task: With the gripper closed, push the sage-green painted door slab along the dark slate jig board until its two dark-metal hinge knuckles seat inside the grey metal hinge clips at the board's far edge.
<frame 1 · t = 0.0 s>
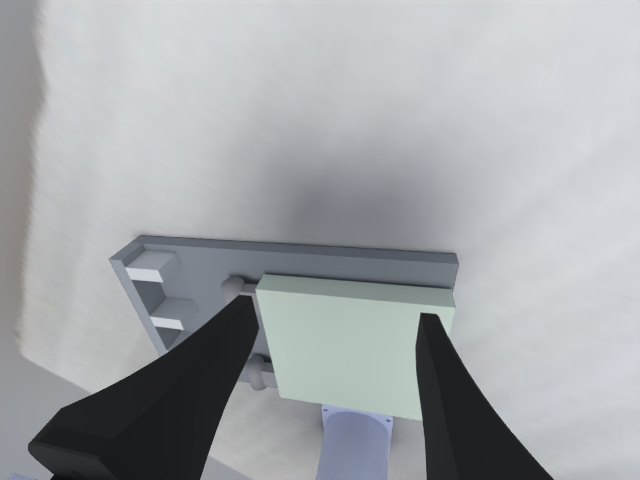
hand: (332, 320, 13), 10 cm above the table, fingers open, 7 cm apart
jig board: (293, 323, 29), on the table
door: (332, 350, 26), point 2 cm above the table, slide at 7.0 cm
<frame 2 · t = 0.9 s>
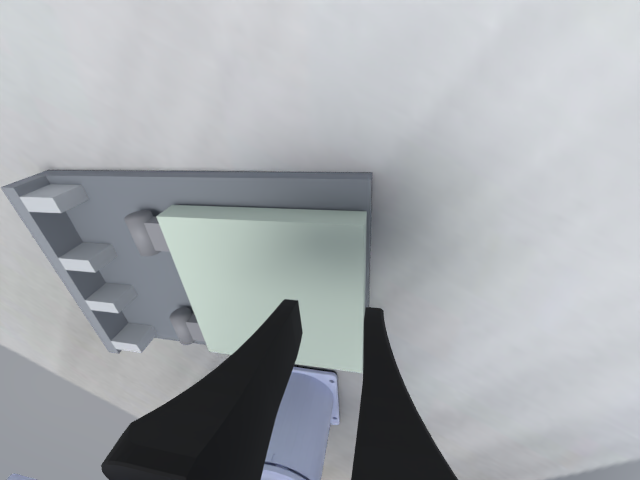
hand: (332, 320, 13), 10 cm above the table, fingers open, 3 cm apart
jig board: (219, 270, 27), on the table
door: (253, 292, 24), point 2 cm above the table, slide at 7.0 cm
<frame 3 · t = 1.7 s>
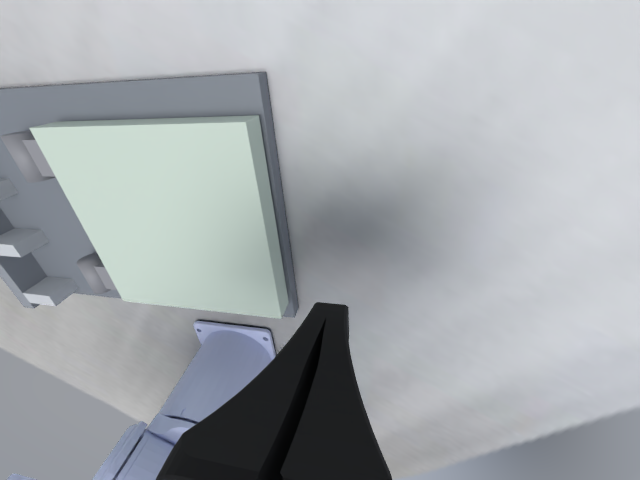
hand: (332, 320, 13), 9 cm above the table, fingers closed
jig board: (130, 209, 24), on the table
door: (156, 226, 22), point 2 cm above the table, slide at 7.0 cm
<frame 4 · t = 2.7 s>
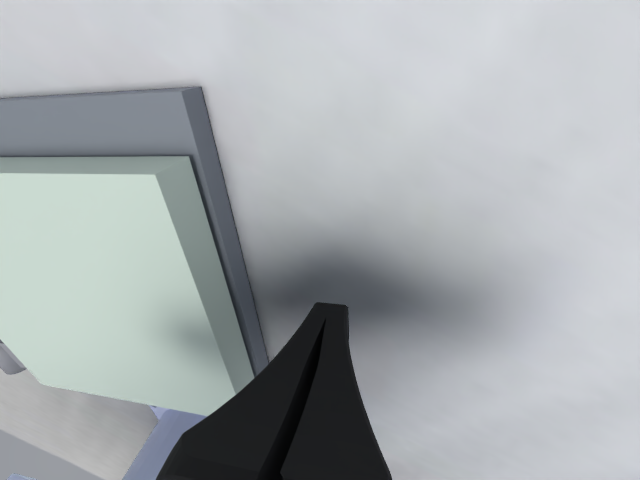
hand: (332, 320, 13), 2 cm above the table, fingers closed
jig board: (46, 266, 18), on the table
door: (66, 300, 15), point 2 cm above the table, slide at 7.0 cm
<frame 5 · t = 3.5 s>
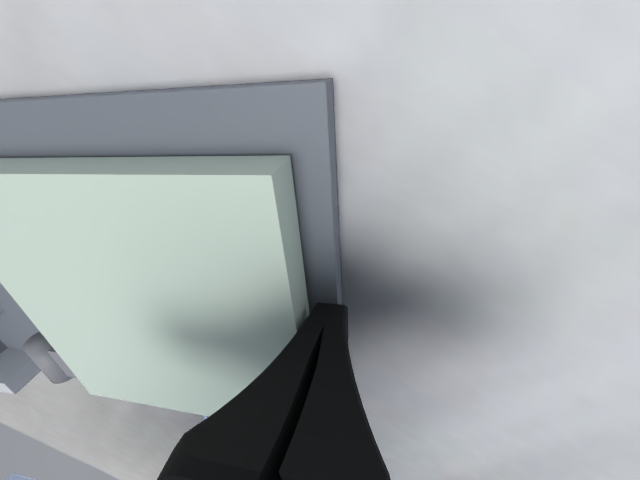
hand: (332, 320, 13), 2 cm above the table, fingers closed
jig board: (112, 272, 17), on the table
door: (129, 308, 15), point 2 cm above the table, slide at 6.0 cm, touching gripper
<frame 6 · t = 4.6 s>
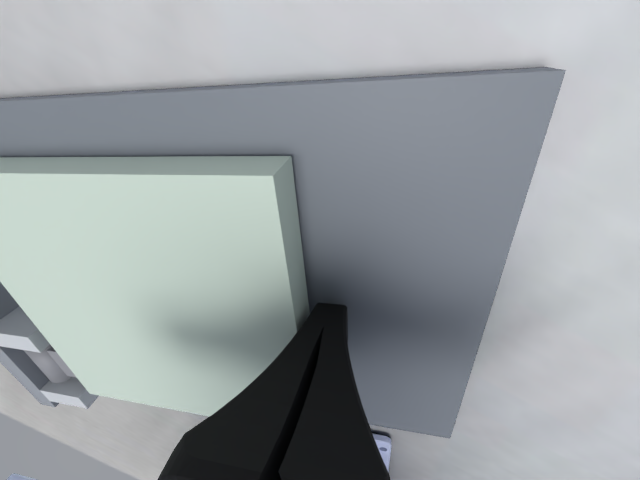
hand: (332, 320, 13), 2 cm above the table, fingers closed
jig board: (208, 280, 16), on the table
door: (129, 308, 15), point 2 cm above the table, slide at 0.0 cm, touching gripper
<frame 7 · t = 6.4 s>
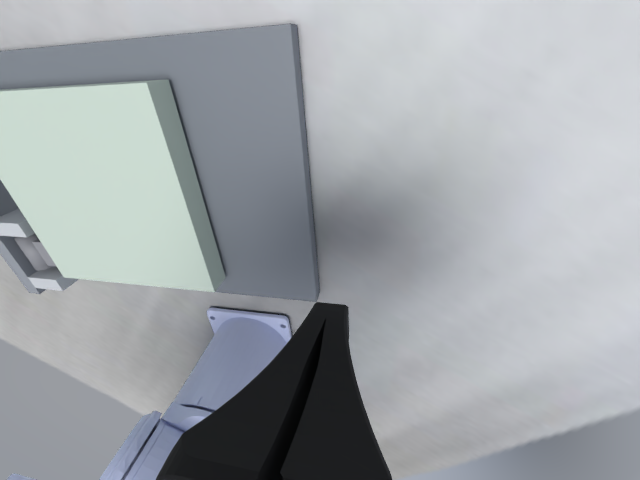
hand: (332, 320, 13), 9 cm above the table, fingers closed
jig board: (143, 185, 23), on the table
door: (85, 198, 22), point 2 cm above the table, slide at 0.0 cm
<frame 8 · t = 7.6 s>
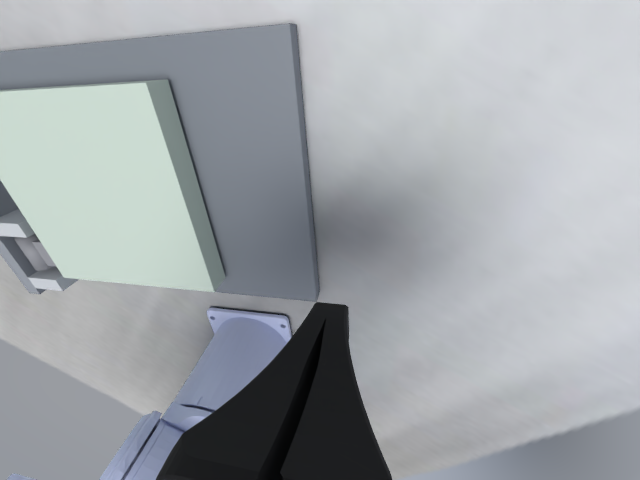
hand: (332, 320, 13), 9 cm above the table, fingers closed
jig board: (143, 186, 23), on the table
door: (85, 198, 22), point 2 cm above the table, slide at 0.0 cm
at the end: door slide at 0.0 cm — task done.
